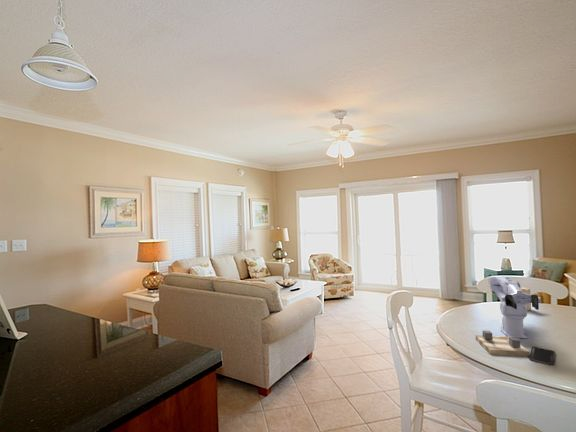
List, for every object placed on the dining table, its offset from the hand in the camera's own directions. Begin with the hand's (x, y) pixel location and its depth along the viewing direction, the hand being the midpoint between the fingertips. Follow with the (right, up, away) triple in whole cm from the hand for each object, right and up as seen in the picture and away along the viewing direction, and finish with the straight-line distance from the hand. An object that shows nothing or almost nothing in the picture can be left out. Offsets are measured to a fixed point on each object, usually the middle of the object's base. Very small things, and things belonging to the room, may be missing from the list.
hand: (526, 307), depth 132 cm
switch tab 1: (-10, -17, +10) cm, 23 cm away
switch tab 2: (-4, -17, +1) cm, 18 cm away
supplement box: (+43, -19, +59) cm, 75 cm away
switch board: (-7, -20, +6) cm, 22 cm away
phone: (+3, -20, -4) cm, 21 cm away
